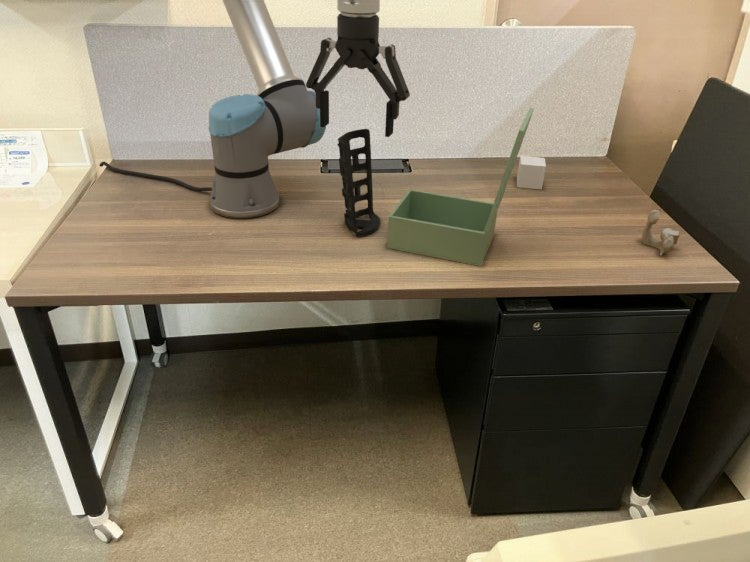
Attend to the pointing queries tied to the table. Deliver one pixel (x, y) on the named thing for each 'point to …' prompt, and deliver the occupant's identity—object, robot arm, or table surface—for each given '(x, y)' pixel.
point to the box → (441, 227)
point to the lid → (509, 168)
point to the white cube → (531, 172)
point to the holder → (357, 183)
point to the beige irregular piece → (667, 235)
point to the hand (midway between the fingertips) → (356, 130)
